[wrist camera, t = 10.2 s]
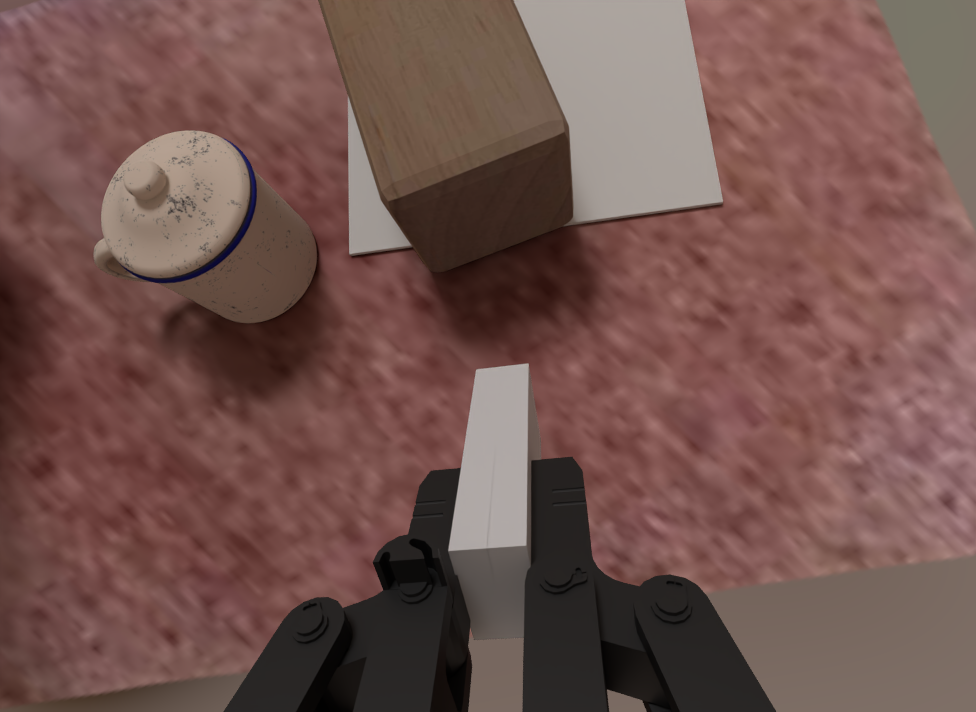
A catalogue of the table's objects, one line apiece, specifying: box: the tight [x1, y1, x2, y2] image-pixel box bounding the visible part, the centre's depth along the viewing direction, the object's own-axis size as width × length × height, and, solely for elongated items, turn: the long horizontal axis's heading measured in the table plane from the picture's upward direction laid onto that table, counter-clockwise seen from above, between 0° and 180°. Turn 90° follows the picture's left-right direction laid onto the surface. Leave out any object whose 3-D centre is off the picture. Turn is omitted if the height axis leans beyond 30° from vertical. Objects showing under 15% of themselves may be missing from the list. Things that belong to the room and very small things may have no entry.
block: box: [318, 0, 574, 272], centre depth 36 cm, size 10×10×20 cm
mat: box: [348, 0, 723, 256], centre depth 41 cm, size 24×20×1 cm
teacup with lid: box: [94, 131, 317, 323], centre depth 36 cm, size 12×9×12 cm
